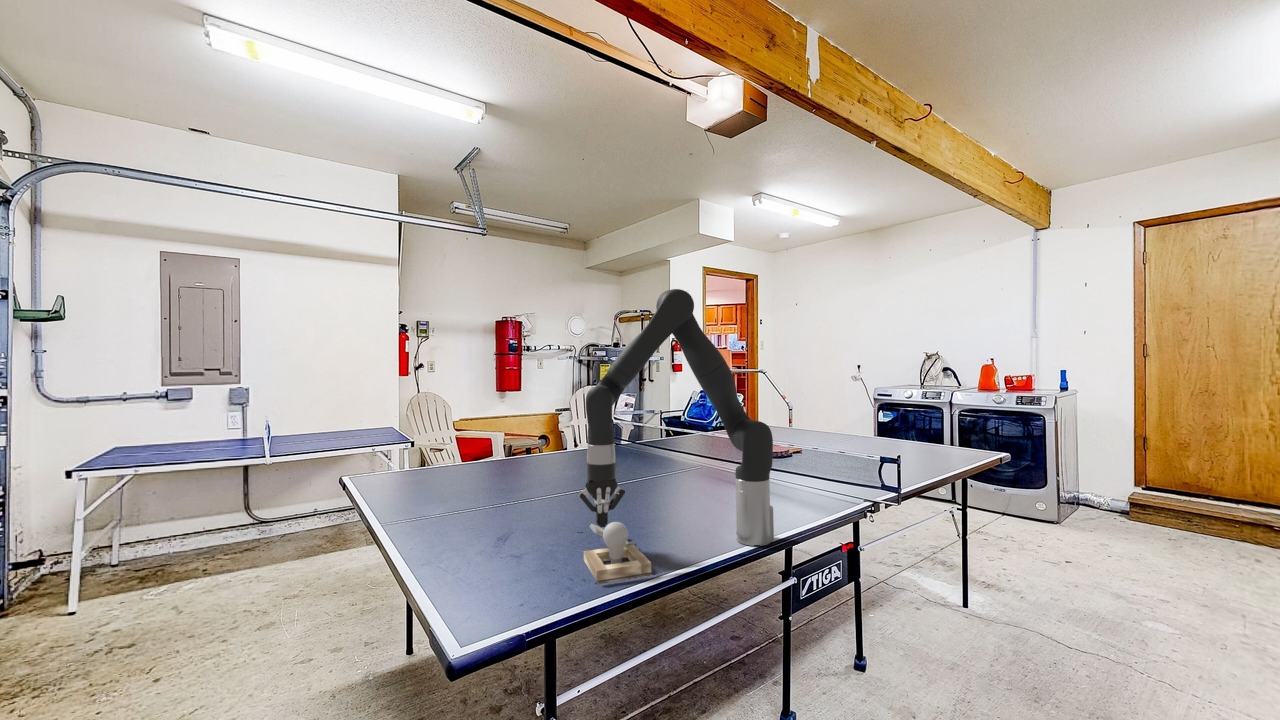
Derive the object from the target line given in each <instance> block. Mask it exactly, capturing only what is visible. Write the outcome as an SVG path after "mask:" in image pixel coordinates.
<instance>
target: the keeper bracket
mask: <svg viewBox="0 0 1280 720" xmlns="http://www.w3.org/2000/svg"><path fill="white" fill-rule="evenodd" d="M628 539H629V538H628ZM628 539H627V540H628ZM628 541H629V540H628ZM632 544H634V545H635V546H636V547H637V542H636V541H629V543H628V545H632Z"/></svg>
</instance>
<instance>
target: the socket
mask: <svg viewBox="0 0 1280 720" xmlns="http://www.w3.org/2000/svg"><path fill="white" fill-rule="evenodd" d="M623 559H628V561H625V562H622V563H616V564H611V563H610V564H604V562H608V561H610V562H611V558H610V554H609V550H608V547H604V548H597V549H590V550H583V561H584V563H585V564H586V566H587V567H588V570H589V571H590V573H591V574H592V576H593V577H594V579H595V580H596V582H595V584H596V585H601V584H607V583H608V584H609V583H614V582H620V581H621V580H622V581H627V580H626V579H628V580H632V579H631V578H634V579H638V578H637V577H640V578H643V577H642V576H647V577H651V576H652V561H650V560H649V558H647V557H646V555H644V554H643V553H642V551H641V550H639V548H638V547H637V545H636V546H635V545H634V544H632V545H625V546H624V549H623V556H622V560H623ZM650 575H651V576H650ZM622 581H621V582H622Z"/></svg>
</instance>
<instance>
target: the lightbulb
mask: <svg viewBox="0 0 1280 720" xmlns="http://www.w3.org/2000/svg"><path fill="white" fill-rule="evenodd" d="M603 529H604V531H603V537H602V539H603V541H604V544H605V545H606V548H608V550H609V554H610V558H611V560H610V564H616V563H623V562H622V560H623V559H622V556H623V549H624V546H625V544H626V542H627V539H629V531H628V529H627V527H626V526H625V525H624V524H623V523H622V522H621V521H613V522H610V523H607V524H606V526H605V527H604V528H603Z"/></svg>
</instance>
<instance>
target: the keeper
mask: <svg viewBox="0 0 1280 720" xmlns="http://www.w3.org/2000/svg"><path fill="white" fill-rule="evenodd" d="M589 528H590V529H591V530H592V532H593V534H596V535H598V536H600V537H602V538H603V531H604V529H605V528H604V527H599V525H597V524H594V523H593V522H592V523H590V525H589ZM629 542H630V541H629V540H627V542H626V544H625V545H628V543H629Z"/></svg>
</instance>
